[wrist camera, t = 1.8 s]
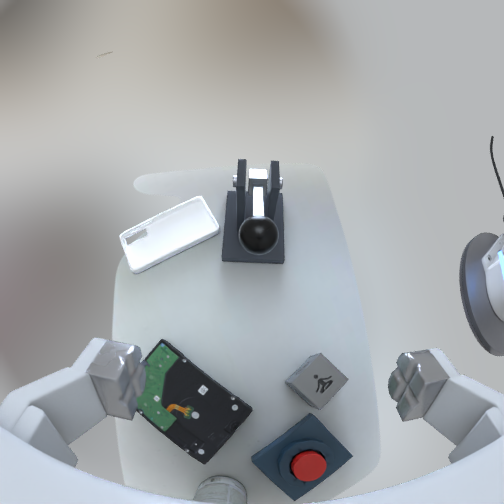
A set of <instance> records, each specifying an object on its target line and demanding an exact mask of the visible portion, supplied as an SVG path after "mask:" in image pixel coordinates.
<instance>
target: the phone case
mask: <svg viewBox="0 0 504 504" xmlns="http://www.w3.org/2000/svg"><path fill="white" fill-rule="evenodd" d="M150 221H151V222H150ZM148 222H149V223H148ZM146 223H147V224H146ZM144 224H145V225H144ZM142 225H143V226H142ZM140 226H141V227H140ZM138 227H139V228H138ZM136 228H137V229H136ZM134 229H135V230H134ZM144 229H146V231H147V234H148V235H147V236H145V237H143V238H141V239H139V240H137V241H135V242H133V243H131V244H130V245H127V242H126V238H128V237H130V236H132V235H134V234H136V233H138V232H140V231H142V230H144ZM132 230H133V231H132ZM130 231H131V232H130ZM219 232H220V227H219V225H218V223H217V221H216V220H215V218H214V216H213V215H212V213H211V211H210V209H209V208H208V206H207V204H206V203H205V201H204V199H203V198H202V197H201V196H198V197H195V198H192V199H190V200H188V201H186V202H184V203H181V204H179V205H177V206H175V207H173V208H171V209H169V210H167V211H165V212H162V213H160V214H158V215H156V216H154V217H153V218H150V219H148V220H146V221H144V222H142V223H140V224H138V225H136V226H134V227H132V228H130V229H129V230H126V231H125V232H123V233H122V234H121V235H120V236H119V237H120V241H121V244H122V247H123V249H124V253H125V255H126V258H127V261H128V264H129V267H130V269H131V271H132V272H133V273H134V274H138V273H140V272H142V271H144V270H146V269H148V268H150V267H152V266H154V265H156V264H158V263H160V262H162V261H164V260H166V259H168V258H170V257H172V256H174V255H176V254H178V253H180V252H182V251H184V250H186V249H188V248H190V247H192V246H194V245H196V244H198V243H200V242H202V241H204V240H207V239H209V238H211V237H213V236H215V235H217V234H218V233H219Z"/></svg>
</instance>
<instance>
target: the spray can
mask: <svg viewBox="0 0 504 504" xmlns="http://www.w3.org/2000/svg"><path fill="white" fill-rule="evenodd" d="M193 501H198V502H206V503H216V504H247V494H246V491H245V488H244V487H243V486H242V485H241V483H239V482H238V481H237V480H235V479H232V478H230V477H223V476H215V477H211V478H209V479H207V480H205V481H204V482H202V483H201V485H200V486H199V488H198V490H197V492H196V495H195V497H194V499H193Z"/></svg>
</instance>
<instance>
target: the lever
mask: <svg viewBox="0 0 504 504" xmlns="http://www.w3.org/2000/svg"><path fill="white" fill-rule="evenodd" d="M267 181H268V177H267V170H260V169H249V187H248V195H250V196H253V216H251V217H249V218H247V219H246V220H245V221H244V222H243V223H242V224H241V226H240V229H239V241H240V244H241V245H242V247H243V248H244V249H245V250H246V251H247V252H249V253H251V254H254V255H263V254H266V253H268V252H270V251H271V250H272V249H273V248H274V247H275V246H276V244H277V241H278V237H279V233H278V228H277V226H276V224H275V223H274V222H273V221H272V220H271V219H270V218H268V217H266V216H264V200H263V196H266V194H267Z"/></svg>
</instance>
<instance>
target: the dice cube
mask: <svg viewBox="0 0 504 504" xmlns="http://www.w3.org/2000/svg"><path fill="white" fill-rule="evenodd" d="M348 380H349V379H348V378H347V377H346V376H345V375H343V374H342V373H341V372H340V371H339V370H338V369H337V368H336V367H335V366H334V365H333V364H332V363H331V362H330V361H329V360H328V359H327V358H326V357H325V356H323V355H322V354H321V353H319V354H316V355H313V356H310V357H309V358H308V359H307V361H306V362H305V363H304V364H303V365H302V366H301V367H300V368H299V369H298V370H297V371H296V372H295V373H294V374H293V375H292V376H291V377H290V378H289V379H288V380H287V381H285V382H286V383H287V384H288V385H289V386H290V387H291V388H292V389H293V390H294V391H295V392H296V393H297V394H298V395H300V396H301V397H302V398H303V399H304V400H305V401H306V402H307V403H308V404H309V405H310V406H313V407H315V408H318V409H320V410H321V409H322V408H323V407H324V406H325V405H326V404H327V403H328V402H329V401H330V399H331V398H332V397H333V396H334V395H335V394H336V393H337V392H338V391H339V390H340V389H341V387H342V386H343V385H344V384H345V383H346V382H347V381H348Z"/></svg>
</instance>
